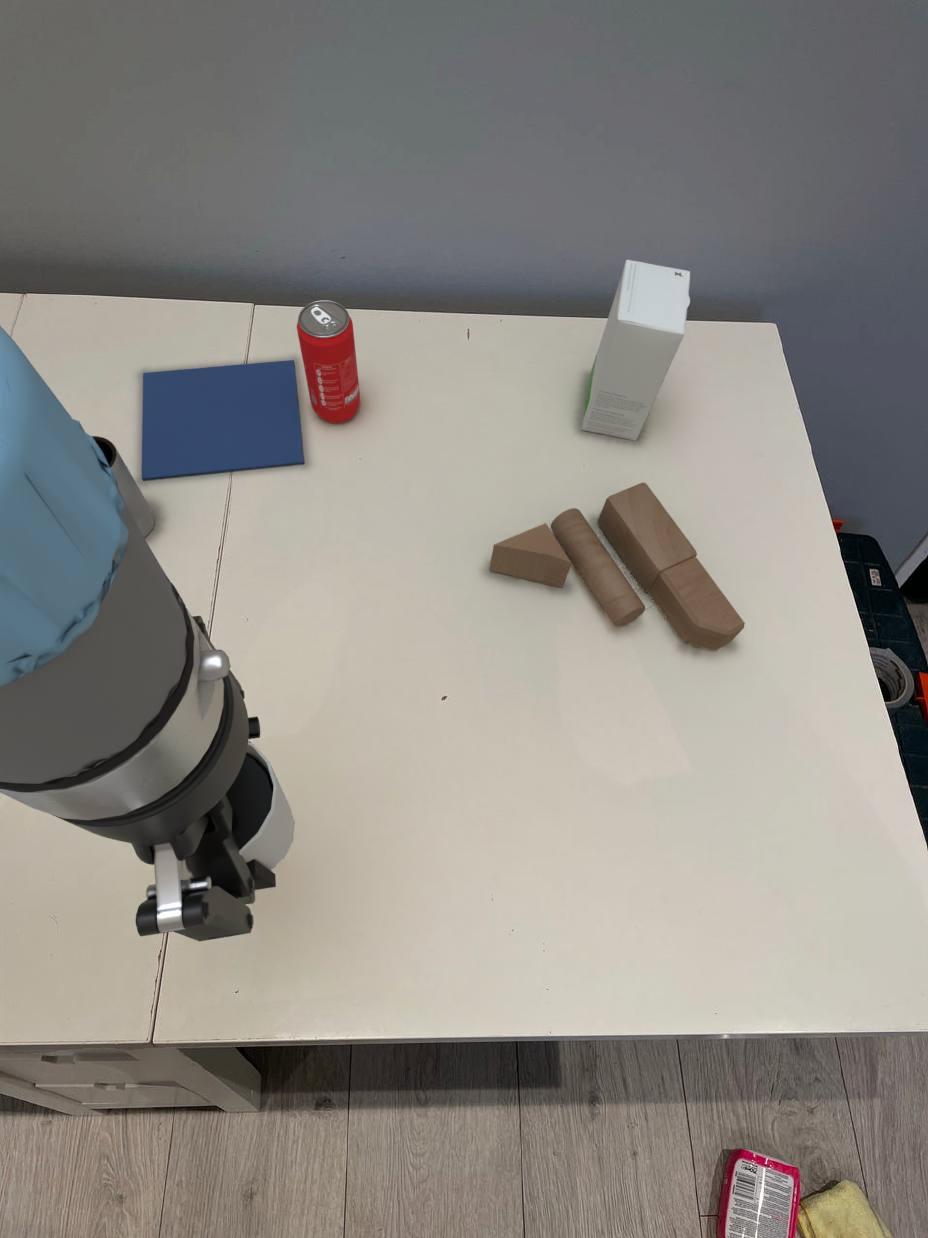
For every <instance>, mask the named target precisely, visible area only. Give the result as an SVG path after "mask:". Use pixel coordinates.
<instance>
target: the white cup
mask: <svg viewBox="0 0 928 1238" xmlns="http://www.w3.org/2000/svg"><path fill="white" fill-rule="evenodd" d="M250 742H251V741H250ZM250 742H249V741H248V746H247V751H246V755H245V758H244V761H243V764H242V766H241V769H240V771H239V773H238V775H237V777H236V779H235V780H234V782H233V784H232V785H231V787H230V788H229V790H228V791H227V792H226V793H225V794H226V796H227V798H228V801H229V803H230V805H231V807H232V832H231V833H232V835H233V837H234V839H235V841H236V843H237V845H238V847H239V849H240V851H239V855H241V856H243V858H244V860H245V862H246V863H247V862H249V861H251V860H253V859H255V860H257V861H258V862H259V863H261V864H262V865H264V866H265V867H266V868H268V869H269V870H270V871H272V870H274V868H275V867H277V866H278V865H279V864H280V863H281V862H282V861H283V860H284V859H285V858H286V856H287V854H288V851H289V850H290V848H291V846H292V844H293V842H294V837H295V836H294V835H295V826H296V825H295V824H296V822H295V819H294V815H293V813H292V809H291V807H290V806H291V805H290V803H289V802H288V800H287V797H286V795H285V793H284V791H283V788H282V786H281V784H280V781H279V779H278V777H277V775H276V773H275V771H274V769H273V766H272V764H271V762H270V760H269V759H268V758H267V757H266V756H265V755H264V754H263V752H261V750H260V749H259V748H258V747H257V746H256V744H254V743H252V742H251V743H250Z"/></svg>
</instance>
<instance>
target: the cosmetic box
mask: <svg viewBox="0 0 928 1238" xmlns="http://www.w3.org/2000/svg"><path fill="white" fill-rule="evenodd" d="M622 269H623V270H622V272H621V276H620V279H619V282H618V286H617V288H616V290H615V291H616V292H615V295H614V297H613V300H612V304H611V308H610V311H609V314H608V316H607V319H606V323H605V326H604V329H603V333H602V336H601V339H600V343H599V346H598V348H597V351H596V355H595V357H594V361H593V364H592V367H591V370H590V373H589V377H588V384H587V389H586V396H585V401H584V408H583V415H582V420H581V425H580V426H581V427H580V429H581V431H583V432H589V433H595V434H600V435H606V436H609V437H616V438H621V439H624V440H625V439H626V440H631V441H638V438H639V436H640V433H641V431H642V429H643V426H644V425H645V423H646V422H645V421H646V419H647V418H648V415H649V413H650V411H651V409H652V407H653V404H654V402H655V400H656V399H657V396H658V393H659V391H660V389H661V387H662V385H663V382H664V380H665V378H666V376H667V374H668V372H669V370H670V367H671V365H672V363H673V361H674V359H675V356H676V354H677V352H678V350H679V348H680V345H681V343H682V341H683V339H684V337H685V334H686V325H687V324H686V323H687V315H688V307H690V304H691V297H690V295H689V294H690V284H691V270H685V269H680V268H675V267H669V266H663V265H659V264H652V263H648V262H644V261H637V260H633V259H632V260H631V259H626V260H625V263H624V266H623V268H622Z"/></svg>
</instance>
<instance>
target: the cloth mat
mask: <svg viewBox="0 0 928 1238" xmlns="http://www.w3.org/2000/svg"><path fill="white" fill-rule="evenodd" d="M295 367H296V366H295V360H294V359H290V360H289V359H288V360H277V361H265V362H254V363H241V364H231V365H222V366H221V365H219V366H207V367H206V366H205V367H197V368H185V369H174V370H161V371H152V372H150V371H149V372H143V373H142V415H141V416H142V418H141V419H142V425H141V435H142V436H141V481H152V480H163V479H171V478H172V479H173V478H181V477H191V476H200V475H210V474H220V473H231V472H238V471H239V472H240V471H248V470H249V471H250V470H258V469H259V470H260V469H269V468H278V467H286V466H296V465H297V466H298V465H304V464H305V458H304V457H305V456H304V447H303V438H302V428H301V427H302V426H301V418H300V406H299V397H298V386H297V377H296V368H295Z"/></svg>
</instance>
